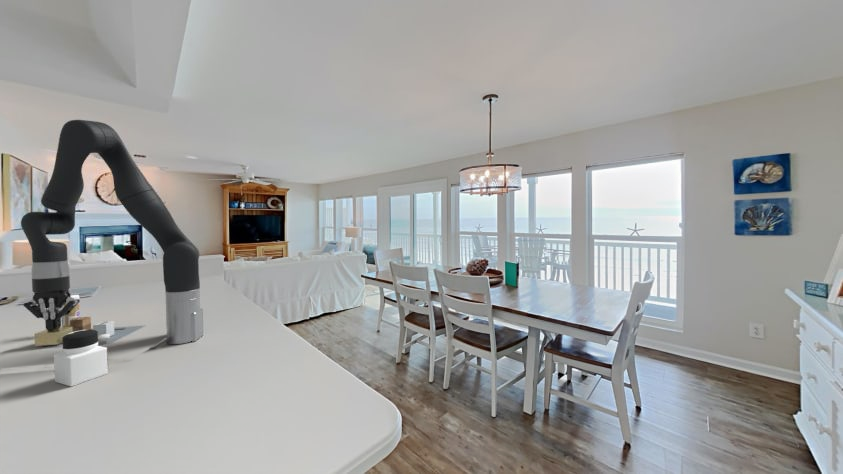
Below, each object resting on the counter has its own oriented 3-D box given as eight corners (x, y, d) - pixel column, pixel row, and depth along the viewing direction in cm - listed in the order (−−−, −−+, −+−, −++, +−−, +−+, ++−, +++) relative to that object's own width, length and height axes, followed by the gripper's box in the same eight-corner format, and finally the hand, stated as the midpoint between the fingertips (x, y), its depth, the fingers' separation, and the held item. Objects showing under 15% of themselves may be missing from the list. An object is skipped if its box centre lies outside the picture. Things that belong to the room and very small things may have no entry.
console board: (146, 329, 114) (146, 316, 114) (110, 348, 97) (109, 333, 97) (80, 333, 110) (79, 320, 109) (30, 354, 92) (29, 339, 92)
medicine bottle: (108, 373, 81) (107, 329, 80) (70, 387, 74) (68, 338, 73) (92, 369, 83) (91, 325, 82) (54, 382, 76) (52, 334, 76)
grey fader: (114, 334, 104) (113, 320, 104) (106, 337, 101) (106, 324, 101) (101, 335, 104) (101, 321, 103) (93, 338, 100) (93, 324, 100)
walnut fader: (91, 329, 109) (90, 316, 109) (82, 332, 106) (82, 319, 106) (79, 329, 109) (78, 317, 108) (70, 333, 105) (69, 320, 105)
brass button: (72, 337, 100) (72, 326, 100) (57, 344, 95) (56, 332, 95) (51, 339, 99) (51, 327, 99) (34, 346, 93) (34, 333, 93)
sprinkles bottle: (78, 333, 110) (76, 296, 109) (59, 335, 107) (57, 298, 107) (82, 329, 114) (81, 294, 113) (64, 332, 111) (63, 295, 111)
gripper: (87, 273, 101) (89, 324, 102) (36, 274, 98) (38, 328, 99) (66, 277, 94) (69, 332, 94) (11, 278, 91) (13, 336, 91)
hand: (53, 330), depth 96 cm, fingers closed
